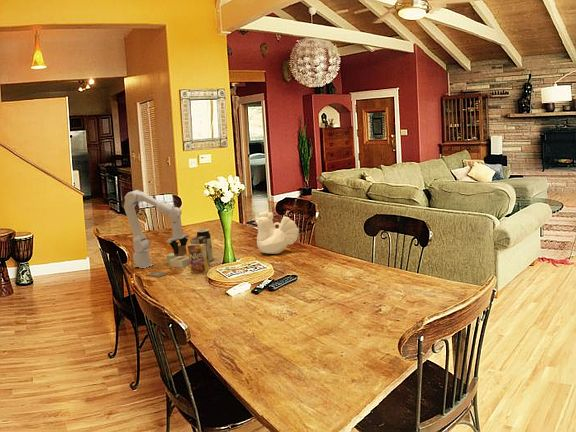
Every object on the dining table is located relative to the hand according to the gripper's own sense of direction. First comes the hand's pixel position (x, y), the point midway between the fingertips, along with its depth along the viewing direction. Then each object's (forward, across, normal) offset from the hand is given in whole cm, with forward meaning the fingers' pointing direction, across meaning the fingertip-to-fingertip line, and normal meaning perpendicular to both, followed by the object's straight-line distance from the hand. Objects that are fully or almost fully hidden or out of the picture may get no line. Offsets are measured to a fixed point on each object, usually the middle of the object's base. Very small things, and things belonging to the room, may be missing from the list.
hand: (180, 252), depth 308 cm
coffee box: (+8, +2, -14) cm, 16 cm away
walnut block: (+2, 0, 0) cm, 2 cm away
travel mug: (+7, +12, -8) cm, 16 cm away
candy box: (+8, -8, -22) cm, 25 cm away
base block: (+8, 0, 0) cm, 8 cm away
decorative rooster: (+8, +38, -41) cm, 56 cm away
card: (+7, -20, -2) cm, 21 cm away
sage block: (+7, +2, +9) cm, 12 cm away
